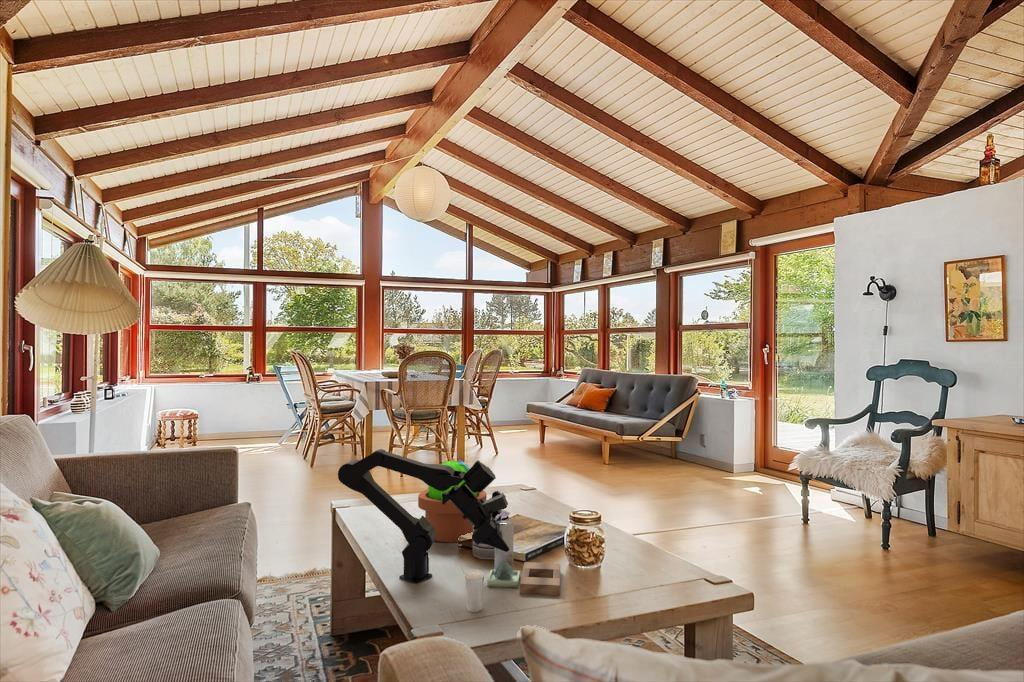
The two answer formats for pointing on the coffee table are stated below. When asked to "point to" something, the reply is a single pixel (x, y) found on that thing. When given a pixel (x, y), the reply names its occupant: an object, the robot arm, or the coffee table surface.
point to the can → (483, 549)
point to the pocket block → (540, 578)
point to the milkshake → (474, 589)
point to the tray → (503, 580)
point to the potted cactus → (446, 510)
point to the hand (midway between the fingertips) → (509, 547)
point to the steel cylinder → (502, 558)
